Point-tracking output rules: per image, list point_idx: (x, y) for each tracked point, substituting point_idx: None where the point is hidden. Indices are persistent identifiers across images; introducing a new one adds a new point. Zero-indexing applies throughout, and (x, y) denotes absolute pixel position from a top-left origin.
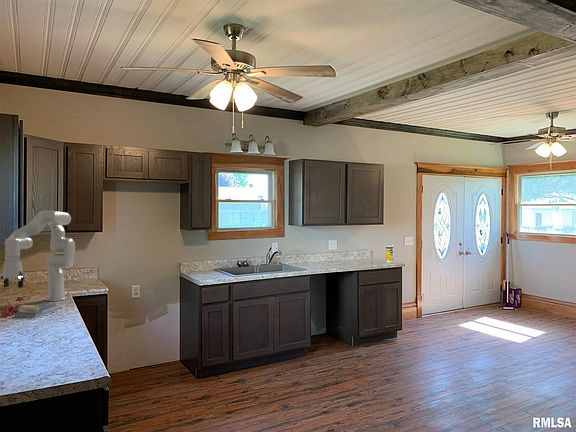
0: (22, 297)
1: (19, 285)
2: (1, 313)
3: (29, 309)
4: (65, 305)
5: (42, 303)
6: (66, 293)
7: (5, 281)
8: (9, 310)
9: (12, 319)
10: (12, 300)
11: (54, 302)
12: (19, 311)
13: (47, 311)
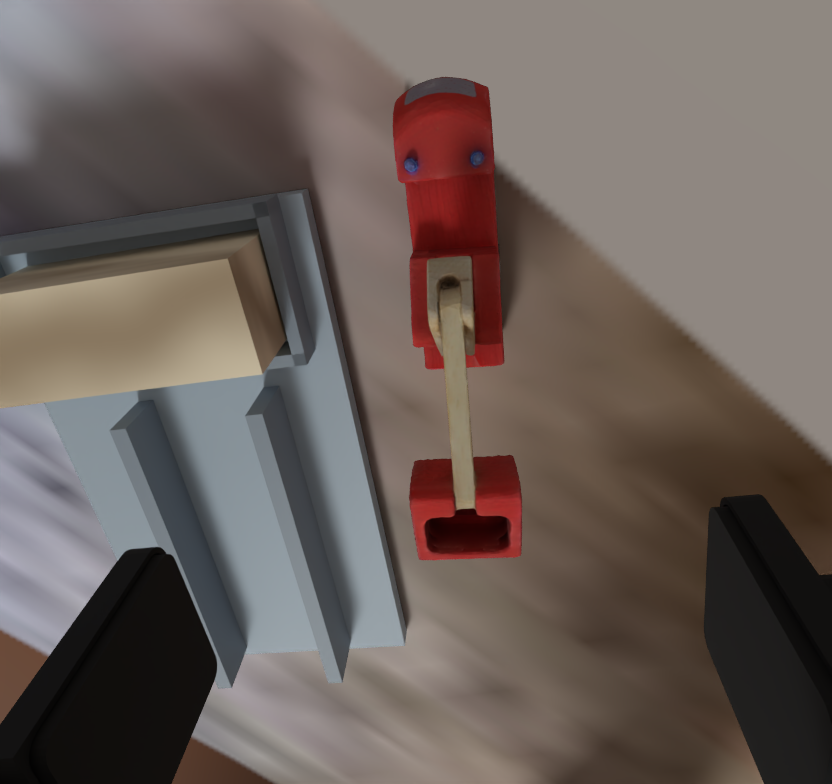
0: (418, 544)
1: (97, 613)
2: (471, 81)
3: (45, 278)
4: (244, 719)
5: (316, 624)
6: None
7: (815, 724)
8: (470, 250)
9: (154, 16)
10: (444, 356)
11: (223, 683)
12: (236, 239)
13: (70, 456)
